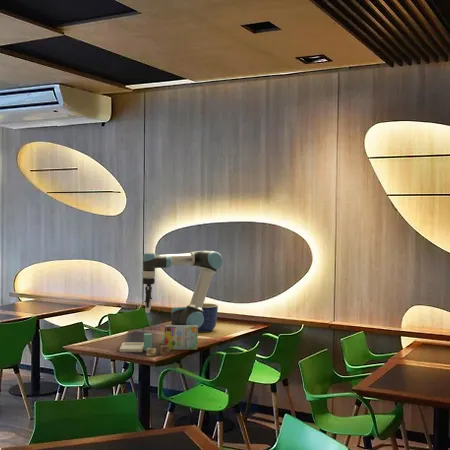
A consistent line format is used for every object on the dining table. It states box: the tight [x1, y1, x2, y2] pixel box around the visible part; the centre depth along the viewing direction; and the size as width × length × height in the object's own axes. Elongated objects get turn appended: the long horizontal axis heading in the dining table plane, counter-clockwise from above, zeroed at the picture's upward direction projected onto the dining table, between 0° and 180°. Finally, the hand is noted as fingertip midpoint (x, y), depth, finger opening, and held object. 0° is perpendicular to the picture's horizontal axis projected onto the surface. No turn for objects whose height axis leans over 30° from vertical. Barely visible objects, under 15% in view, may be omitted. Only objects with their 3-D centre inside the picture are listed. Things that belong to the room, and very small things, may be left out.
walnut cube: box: [159, 345, 171, 356], centre depth 378 cm, size 5×5×5 cm
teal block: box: [143, 332, 153, 352], centre depth 389 cm, size 5×5×10 cm
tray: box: [119, 341, 144, 353], centre depth 392 cm, size 14×20×2 cm
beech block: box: [146, 347, 157, 357], centre depth 375 cm, size 5×4×4 cm
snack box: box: [164, 324, 199, 351], centre depth 394 cm, size 21×6×15 cm, turn 92°
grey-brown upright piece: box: [160, 332, 165, 345], centre depth 407 cm, size 6×6×7 cm
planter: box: [198, 302, 219, 333], centre depth 460 cm, size 21×21×19 cm
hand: (148, 311), depth 389 cm, fingers open, 13 cm apart
